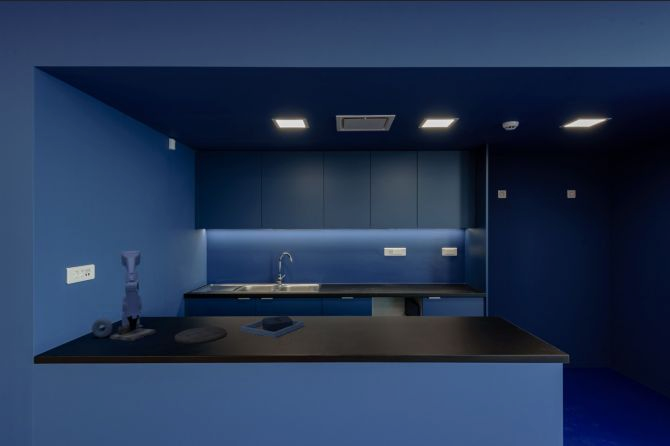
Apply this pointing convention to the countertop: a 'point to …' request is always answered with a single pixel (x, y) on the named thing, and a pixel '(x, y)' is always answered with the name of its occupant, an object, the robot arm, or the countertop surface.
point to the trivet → (200, 335)
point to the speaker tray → (250, 329)
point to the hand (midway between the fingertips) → (133, 329)
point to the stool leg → (126, 329)
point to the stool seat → (133, 334)
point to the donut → (97, 330)
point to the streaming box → (276, 323)
